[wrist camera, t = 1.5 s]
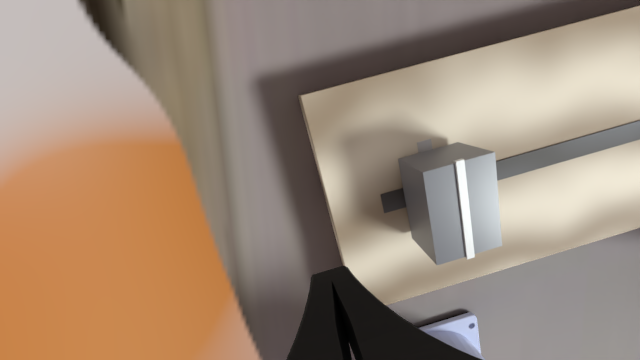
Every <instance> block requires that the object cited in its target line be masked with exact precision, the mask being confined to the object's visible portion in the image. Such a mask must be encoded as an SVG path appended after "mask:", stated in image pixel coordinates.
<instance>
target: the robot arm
mask: <svg viewBox="0 0 640 360" xmlns="http://www.w3.org/2000/svg"><path fill="white" fill-rule="evenodd" d="M349 343H350V346H351V348H352V351H353V354H354V356H355V359H356V360H485V359H484V358H483V357H482V355H481V351H480V342H479V334H478V325H477V318H476V316H475V315H474V314H473V313H471V312H470V313H465V314H462V315H459V316H456V317H452V318H449V319H446V320H443V321H440V322H436V323H433V324H430V325H427V326H424V327H420V328H417V327H416V326H414V325H412V324H411V323H409V322H408V321H406V320H405V319H403V318H402V317H400V316H399V315H398V314H396V313H395V312H394V311H392V310H391V309H390V308H388V307H387V306H386V305H385V304H383V303H382V302H381V301H380V300H379V299H377V298H376V297H375V296H374V295H373V294H372V293H371V292H370V291H369V290H367V289H366V288H365V287H364V286H363V285H362V284H361V283H360V282H359V281H358V279H357V278H356V277H355V276H354V275H353V274H352V272H351V271H350V270H349V268H348V267H346V266H341V267H338V268H334V269H331V270H328V271H324V272H321V273H318V274H314V275H313V276H312V277H311V283H310V290H309V295H308V299H307V303H306V307H305V311H304V314H303V318H302V321H301V324H300V327H299V329H298V332H297V335H296V338H295V340H294V343H293V345H292V348H291V350H290V353H289V355H288V357H287V359H286V360H352V358H351V352H350V347H349Z"/></svg>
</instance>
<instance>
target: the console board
mask: <svg viewBox="0 0 640 360" xmlns="http://www.w3.org/2000/svg"><path fill="white" fill-rule="evenodd" d="M298 97H299V101H300V105H301V109H302V112H303V116H304V120H305V124H306V128H307V131H308V135H309V139H310V143H311V147H312V150H313V154H314V158H315V162H316V166H317V169H318V173H319V177H320V181H321V185H322V188H323V192H324V196H325V200H326V204H327V207H328V211H329V215H330V219H331V222H332V226H333V230H334V234H335V238H336V241H337V245H338V249H339V253H340V257H341V260H342V264H343V266H346V267H348V268H349V270H350V271H351V272H352V274H353V275H354V276H355V277H356V278H357V279H358V281H359V282H360V283H361V284H362V285H363V286H364V287H365V288H366V289H367V290H369V291H370V292H371V293H372V294H373V295H374V296H375V297H376V298H377V299H379V300H380V301H381V302H382V303H383V304H385V305H389V304H392V303H395V302H399V301H402V300H405V299H408V298H412V297H415V296H418V295H422V294H425V293H428V292H431V291H435V290H438V289H441V288H444V287H448V286H451V285H454V284H457V283H461V282H464V281H467V280H471V279H474V278H477V277H480V276H484V275H487V274H490V273H493V272H497V271H500V270H503V269H507V268H510V267H513V266H516V265H520V264H523V263H526V262H529V261H533V260H536V259H539V258H543V257H546V256H549V255H552V254H556V253H559V252H562V251H565V250H569V249H572V248H575V247H579V246H582V245H585V244H588V243H592V242H595V241H598V240H601V239H605V238H608V237H611V236H615V235H618V234H621V233H624V232H628V231H631V230H634V229H637V228H640V5H638V6H635V7H631V8H627V9H623V10H619V11H616V12H612V13H608V14H604V15H601V16H597V17H593V18H589V19H586V20H582V21H578V22H574V23H570V24H567V25H563V26H559V27H555V28H552V29H548V30H544V31H540V32H536V33H533V34H529V35H525V36H521V37H518V38H514V39H510V40H506V41H502V42H499V43H495V44H491V45H487V46H484V47H480V48H476V49H472V50H469V51H465V52H461V53H457V54H453V55H450V56H446V57H442V58H438V59H435V60H431V61H427V62H423V63H419V64H416V65H412V66H408V67H404V68H401V69H397V70H393V71H389V72H386V73H382V74H378V75H374V76H370V77H367V78H363V79H359V80H355V81H352V82H348V83H344V84H340V85H336V86H333V87H329V88H325V89H321V90H318V91H314V92H310V93H306V94H302V95H299V96H298ZM456 142H460V143H464V144H467V145H471V146H475V147H479V148H482V149H486V150H490V151H493V152H495V157H496V170H497V184H498V197H499V211H500V224H501V237H502V246H500V247H497V248H493V249H490V250H487V251H483V252H480V253H477V254H475V257H474V258H471V259H466V258H465V257H464V258H460V259H457V260H454V261H450V262H447V263H444V264H440V265H436V264H435V263H434V262H433V261H432V259H431V258H430V257H429V256H428V255H427V254H426V253H425V252H424V251H423V250H422V249H421V247H420V246H419V245H418V244H417V243H416V242H415V241H414V240H413V239H412V236H411V230H410V224H409V219H408V213H407V207H406V202H405V196H404V190H403V185H402V179H401V173H400V168H399V162H398V159H399V158H403V157H406V156H410V155H414V154H417V153H421V152H424V151H428V150H431V149H435V148H438V147H442V146H446V145H449V144H453V143H456Z"/></svg>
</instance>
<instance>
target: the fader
mask: <svg viewBox="0 0 640 360" xmlns="http://www.w3.org/2000/svg"><path fill="white" fill-rule="evenodd" d="M398 162H399V168H400V173H401V179H402V185H403V190H404V196H405V202H406V207H407V213H408V219H409V224H410V230H411V236H412V239H413V240H414V241H415V242H416V243H417V244H418V245H419V246H420V247H421V249H422V250H423V251H424V252H425V253H426V254H427V255H428V256H429V257H430V258H431V259H432V261H433V262H434V263H435V264H436V265H440V264H444V263H447V262H450V261H454V260H457V259H460V258H464V257H465V258H466V259H471V258H474V257H475V254H477V253H480V252H483V251H487V250H490V249H493V248H497V247H500V246H502V237H501V224H500V211H499V197H498V184H497V170H496V157H495V152H493V151H490V150H486V149H482V148H479V147H475V146H471V145H467V144H464V143H460V142H456V143H453V144H449V145H446V146H442V147H438V148H435V149H431V150H428V151H424V152H421V153H417V154H414V155H410V156H406V157H403V158H399V159H398Z"/></svg>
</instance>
